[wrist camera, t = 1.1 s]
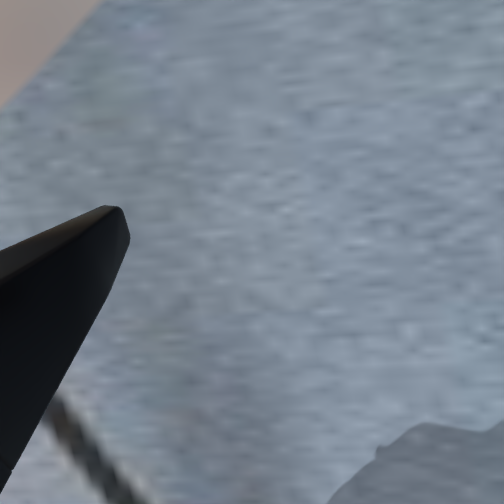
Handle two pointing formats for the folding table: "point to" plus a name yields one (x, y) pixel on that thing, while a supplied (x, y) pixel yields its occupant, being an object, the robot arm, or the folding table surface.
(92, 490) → the folding table surface
